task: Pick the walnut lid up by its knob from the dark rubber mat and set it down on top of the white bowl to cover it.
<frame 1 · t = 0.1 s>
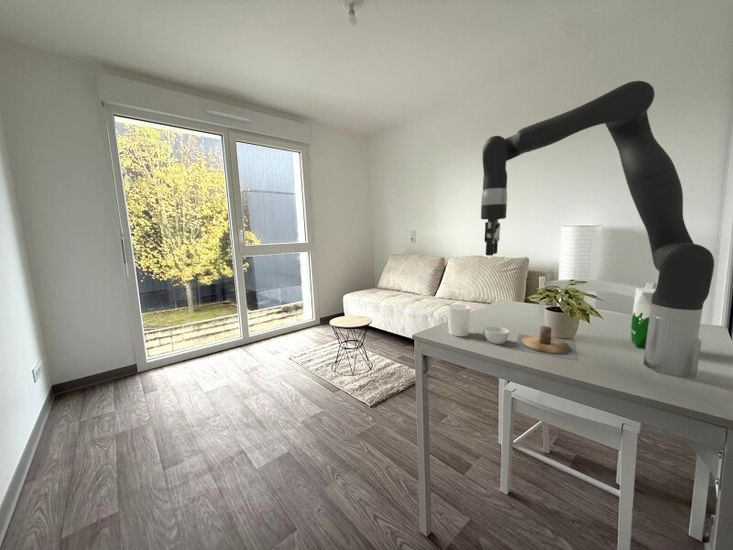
hand: (491, 254, 98), 29 cm above the table, fingers open, 8 cm apart
white bowl: (495, 343, 99), on the table
mat: (544, 347, 95), on the table
milk carton: (648, 347, 95), on the table
white cup: (458, 334, 109), on the table
lid: (544, 345, 95), point 1 cm above the table, touching mat
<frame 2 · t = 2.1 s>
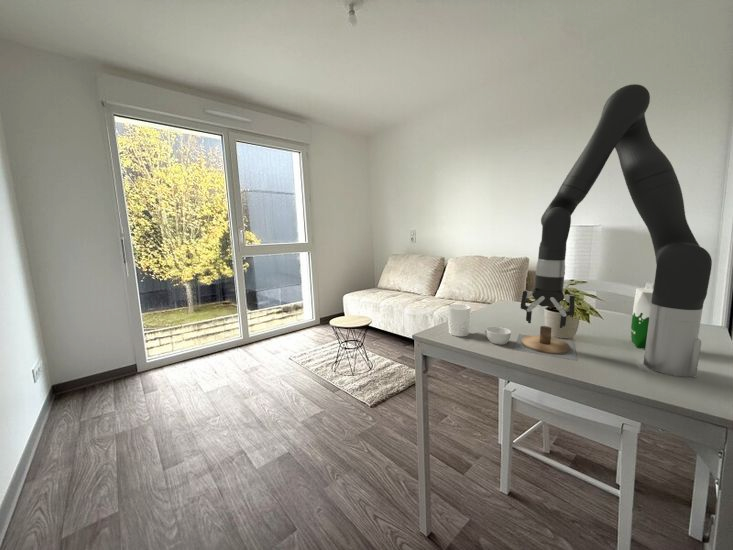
hand: (544, 324, 94), 7 cm above the table, fingers open, 8 cm apart
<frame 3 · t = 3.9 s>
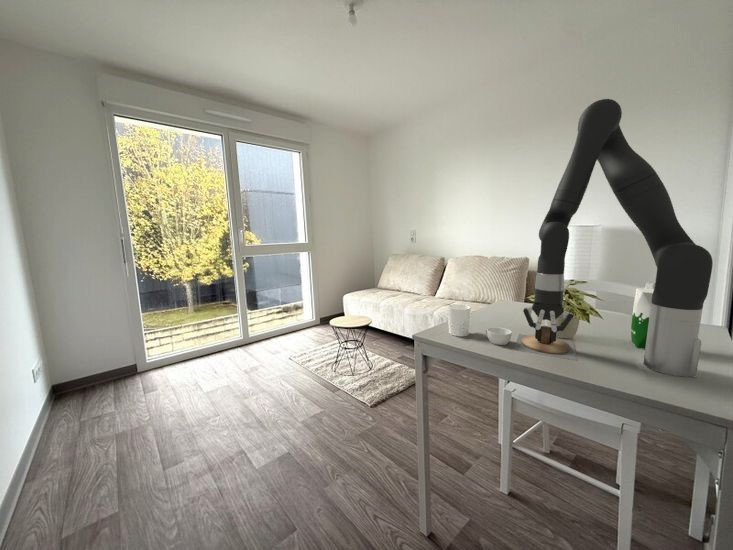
hand: (545, 341, 94), 2 cm above the table, fingers closed on lid, 3 cm apart
lid: (544, 345, 95), point 1 cm above the table, touching gripper, mat
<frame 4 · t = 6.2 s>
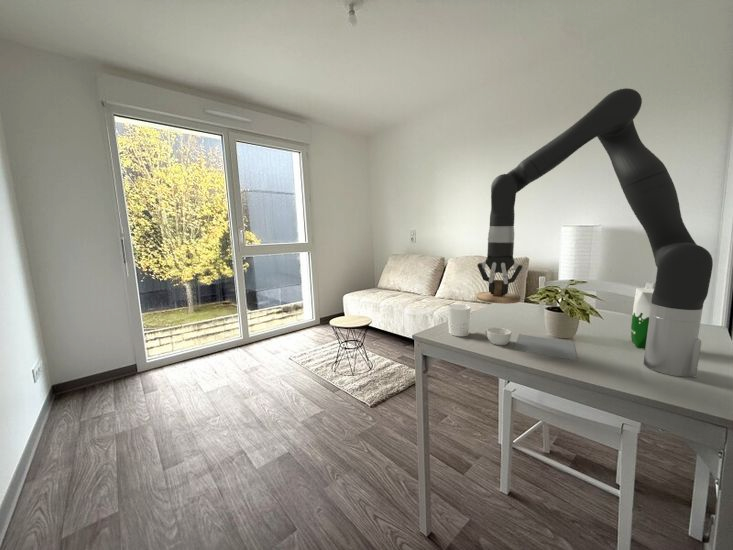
hand: (498, 294, 97), 16 cm above the table, fingers closed on lid, 3 cm apart
lid: (497, 298, 97), point 15 cm above the table, touching gripper
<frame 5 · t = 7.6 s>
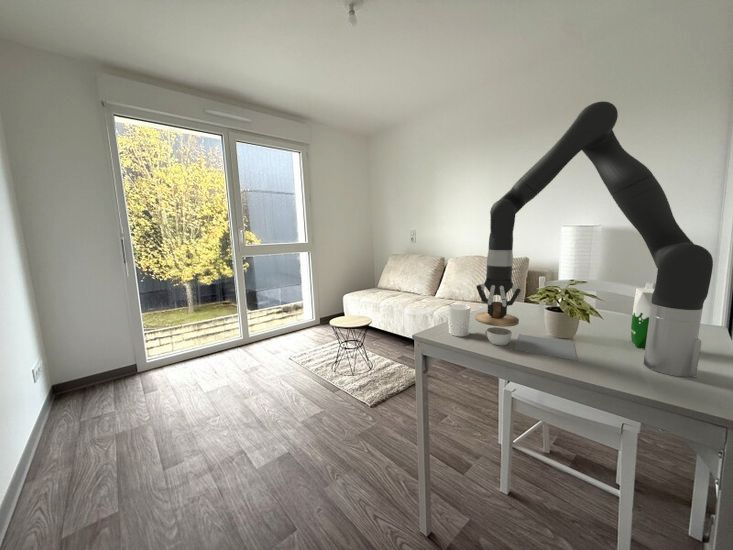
hand: (496, 316, 98), 9 cm above the table, fingers closed on lid, 3 cm apart
lid: (496, 320, 98), point 8 cm above the table, touching gripper
when the fingers open (7 cm above the table, at t = 8.8 s): lid drops 1 cm, resting on white bowl.
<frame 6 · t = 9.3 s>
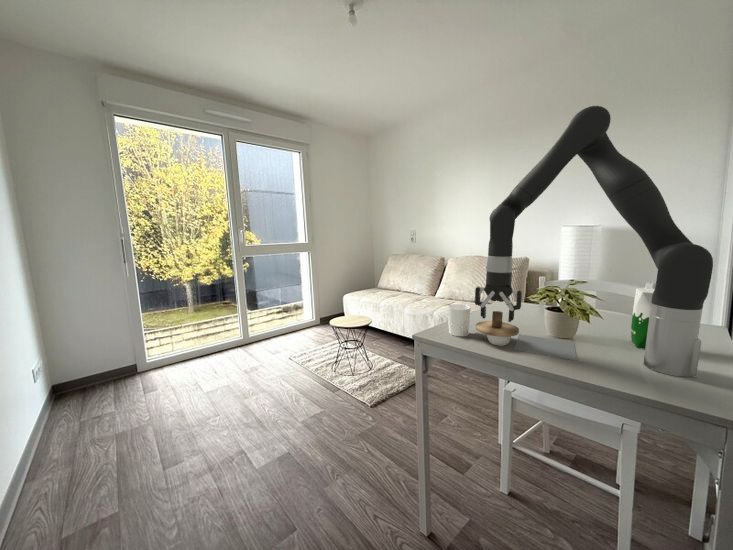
hand: (496, 319, 98), 8 cm above the table, fingers open, 7 cm apart
white bowl: (498, 345, 98), on the table, touching lid
lid: (496, 329, 99), point 4 cm above the table, touching white bowl
everything else where it was.
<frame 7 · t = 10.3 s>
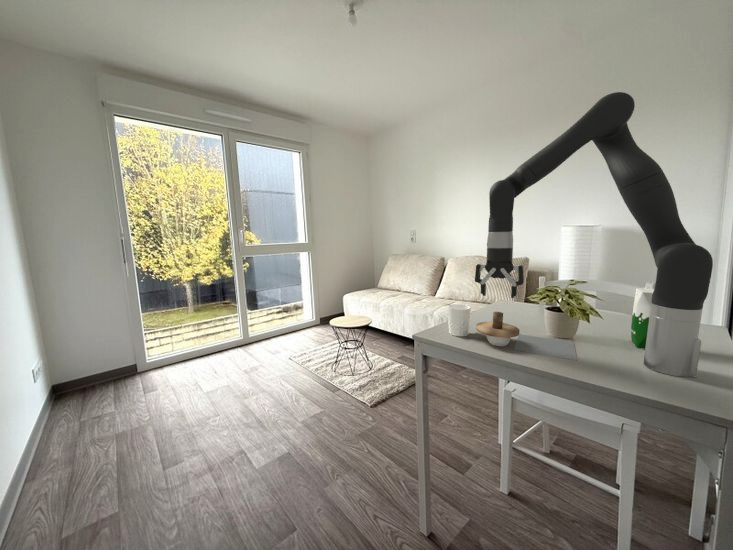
hand: (498, 296, 97), 16 cm above the table, fingers open, 8 cm apart
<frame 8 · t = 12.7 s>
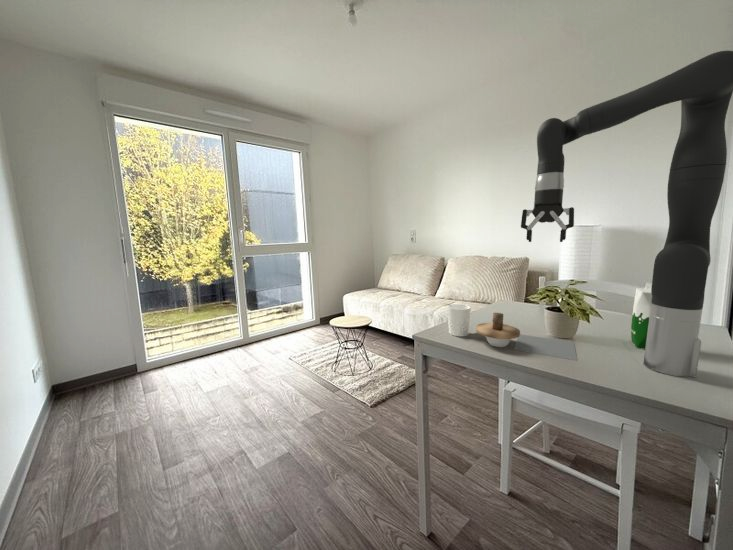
hand: (545, 241, 95), 33 cm above the table, fingers open, 8 cm apart
lid: (497, 331, 97), point 4 cm above the table, touching white bowl
at the end: lid 0.6 cm off-centre on the white bowl, point 4.9 cm above the white bowl's base; the gripper is holding nothing; white bowl moved 2.9 cm from its start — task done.
